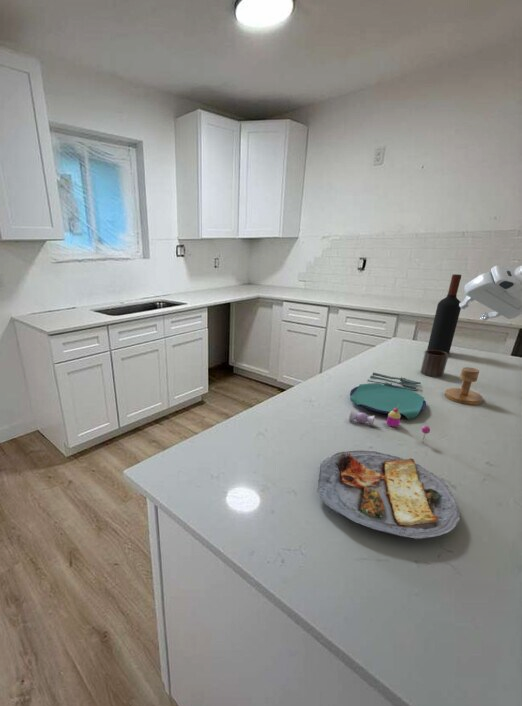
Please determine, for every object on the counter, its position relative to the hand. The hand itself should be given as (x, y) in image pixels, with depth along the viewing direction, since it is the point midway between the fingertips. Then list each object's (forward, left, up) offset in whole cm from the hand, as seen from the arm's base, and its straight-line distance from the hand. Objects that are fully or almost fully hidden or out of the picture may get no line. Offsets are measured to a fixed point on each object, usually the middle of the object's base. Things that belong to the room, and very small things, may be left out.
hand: (471, 312), depth 117 cm
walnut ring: (+8, +3, -21) cm, 22 cm away
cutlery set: (+23, +28, -21) cm, 42 cm away
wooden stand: (+3, +22, -21) cm, 31 cm away
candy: (+25, +48, -21) cm, 58 cm away
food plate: (+28, +76, -21) cm, 84 cm away
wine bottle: (+2, -22, -21) cm, 30 cm away
